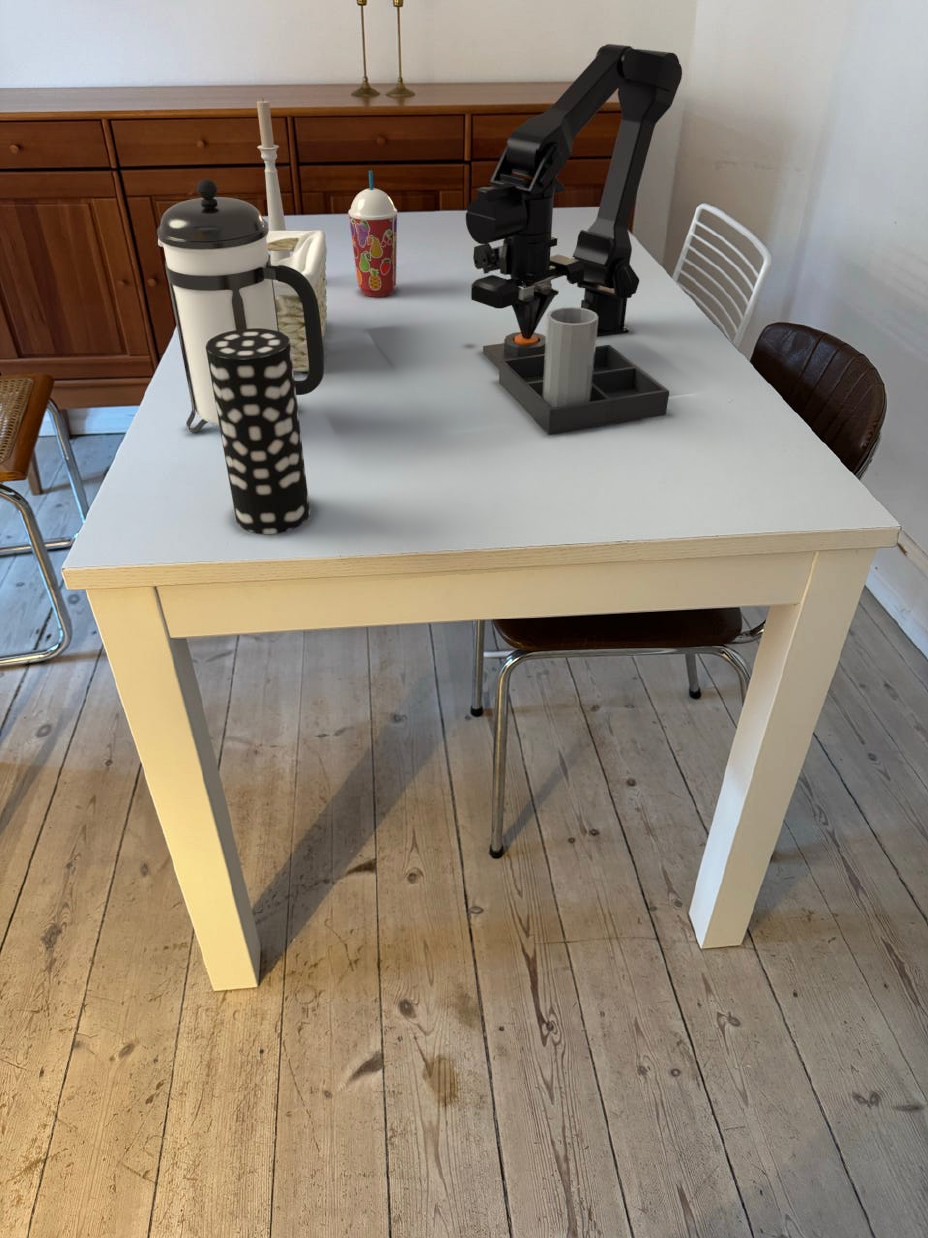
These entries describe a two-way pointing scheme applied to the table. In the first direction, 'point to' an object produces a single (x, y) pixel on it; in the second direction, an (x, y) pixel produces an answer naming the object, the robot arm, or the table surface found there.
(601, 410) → the divided tray
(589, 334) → the tumbler
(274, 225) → the candlestick
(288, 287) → the basket
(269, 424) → the spotted tube
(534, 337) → the button
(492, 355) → the block
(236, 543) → the table surface
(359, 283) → the smoothie
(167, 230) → the coffee press
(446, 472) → the table surface
